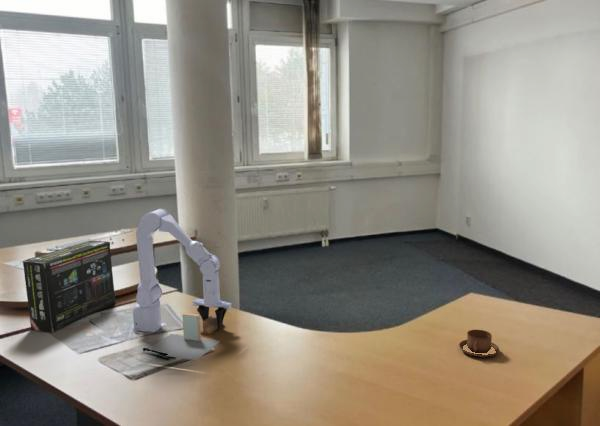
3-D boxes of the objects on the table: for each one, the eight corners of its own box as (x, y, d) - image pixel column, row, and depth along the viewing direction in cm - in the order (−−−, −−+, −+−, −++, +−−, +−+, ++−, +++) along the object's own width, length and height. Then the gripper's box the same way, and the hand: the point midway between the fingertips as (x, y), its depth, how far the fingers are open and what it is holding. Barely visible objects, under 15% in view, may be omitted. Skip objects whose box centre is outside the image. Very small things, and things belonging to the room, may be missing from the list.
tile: (183, 339, 182) (182, 314, 180) (185, 337, 183) (184, 313, 181) (198, 341, 180) (197, 316, 178) (200, 339, 181) (199, 314, 179)
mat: (143, 353, 172) (142, 352, 172) (170, 335, 187) (170, 334, 186) (196, 361, 165) (196, 360, 165) (221, 342, 180) (221, 340, 180)
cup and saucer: (501, 361, 161) (502, 342, 160) (461, 359, 164) (461, 340, 163) (495, 345, 173) (496, 328, 172) (457, 343, 175) (458, 325, 174)
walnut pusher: (203, 335, 187) (202, 321, 186) (217, 325, 196) (216, 312, 195) (209, 336, 186) (208, 322, 185) (223, 325, 195) (222, 312, 194)
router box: (95, 300, 227) (90, 239, 223) (116, 302, 223) (112, 241, 219) (27, 330, 194) (20, 260, 190) (51, 334, 190) (43, 262, 186)
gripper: (234, 288, 190) (236, 324, 192) (199, 285, 195) (201, 320, 197) (225, 294, 183) (227, 331, 185) (189, 290, 188) (191, 327, 190)
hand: (213, 326), depth 191 cm, fingers open, 5 cm apart
